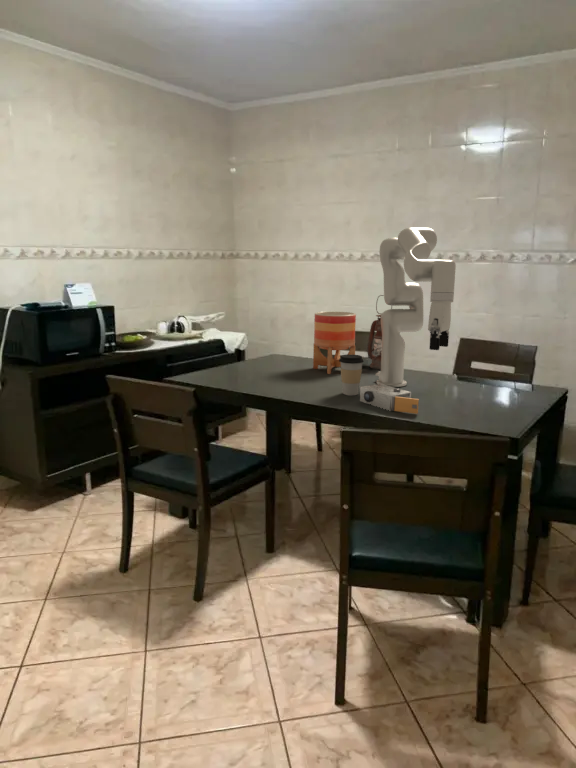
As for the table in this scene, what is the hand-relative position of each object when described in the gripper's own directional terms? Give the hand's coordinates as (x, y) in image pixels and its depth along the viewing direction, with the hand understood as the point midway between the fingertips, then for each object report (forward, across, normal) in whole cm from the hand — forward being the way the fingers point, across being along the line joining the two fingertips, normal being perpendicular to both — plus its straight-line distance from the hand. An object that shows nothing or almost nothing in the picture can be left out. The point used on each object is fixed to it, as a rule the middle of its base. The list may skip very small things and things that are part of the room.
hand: (438, 348), depth 192 cm
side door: (+22, +9, -8) cm, 25 cm away
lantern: (+21, -64, -48) cm, 82 cm away
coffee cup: (+22, -6, -36) cm, 43 cm away
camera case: (+22, +1, -18) cm, 29 cm away
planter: (+21, -45, -64) cm, 81 cm away
